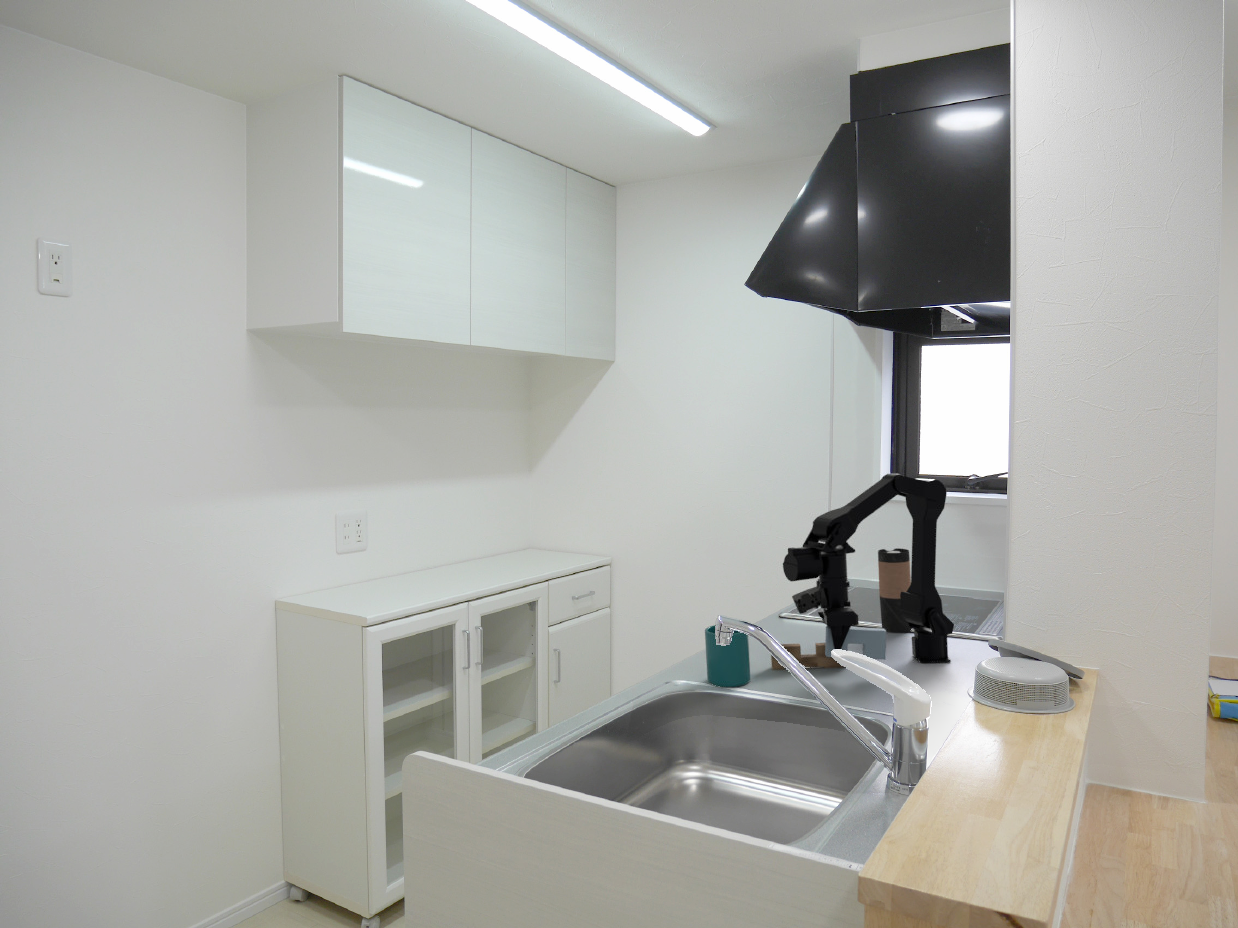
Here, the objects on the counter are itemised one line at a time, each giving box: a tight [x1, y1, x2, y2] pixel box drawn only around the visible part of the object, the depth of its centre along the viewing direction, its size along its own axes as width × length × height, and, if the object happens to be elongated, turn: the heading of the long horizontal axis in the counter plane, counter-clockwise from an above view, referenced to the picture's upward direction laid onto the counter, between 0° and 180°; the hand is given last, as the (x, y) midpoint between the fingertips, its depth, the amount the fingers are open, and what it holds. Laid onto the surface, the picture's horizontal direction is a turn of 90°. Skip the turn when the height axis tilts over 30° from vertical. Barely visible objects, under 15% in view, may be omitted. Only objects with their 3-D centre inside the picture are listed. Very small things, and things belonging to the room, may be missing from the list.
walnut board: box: [770, 642, 844, 671], centre depth 180 cm, size 16×2×5 cm, turn 85°
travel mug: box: [877, 547, 912, 634], centre depth 206 cm, size 8×8×20 cm
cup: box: [704, 624, 751, 688], centre depth 174 cm, size 9×12×11 cm
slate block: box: [824, 625, 887, 660], centre depth 172 cm, size 12×2×6 cm, turn 85°
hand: (836, 649), depth 172 cm, fingers closed on slate block, 2 cm apart
